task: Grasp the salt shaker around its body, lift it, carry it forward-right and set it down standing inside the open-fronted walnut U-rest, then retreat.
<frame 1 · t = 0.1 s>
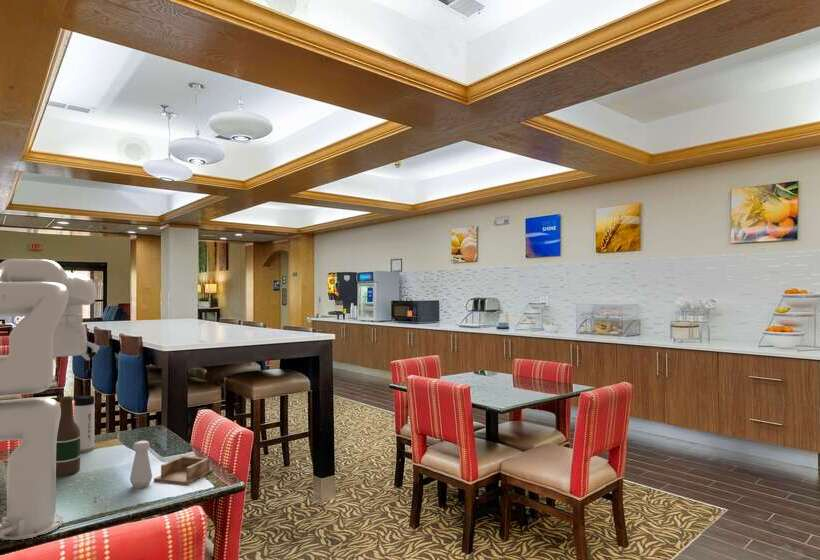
hand: (68, 373, 166), 31 cm above the table, tool pointing down, fingers open, 9 cm apart
beer bottle: (65, 473, 164), on the table
travel mug: (83, 450, 187), on the table
salt shaker: (141, 486, 152), on the table
walnut U-rest: (184, 476, 160), on the table
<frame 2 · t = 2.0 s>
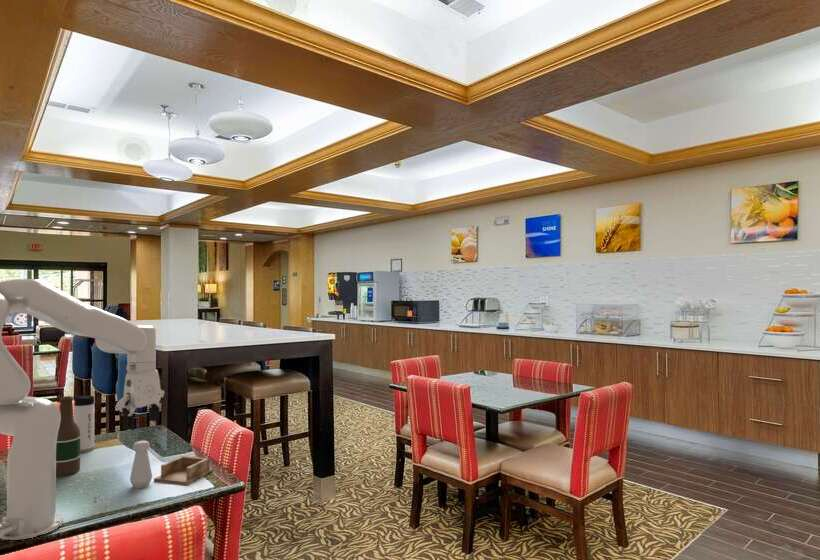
hand: (141, 424, 153), 18 cm above the table, tool pointing down, fingers open, 9 cm apart
nothing on the table moved.
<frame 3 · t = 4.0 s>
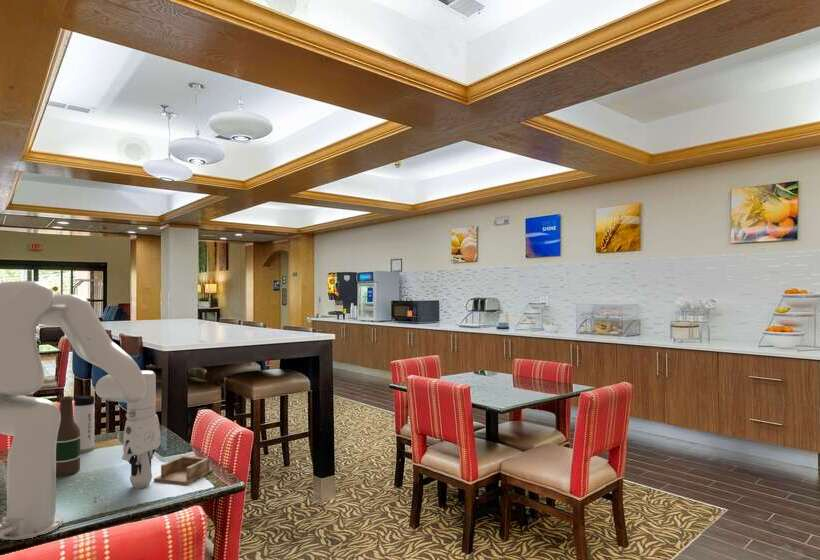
hand: (141, 474, 152), 3 cm above the table, tool pointing down, fingers closed on salt shaker, 3 cm apart
salt shaker: (141, 486, 152), on the table, touching gripper
everything else where it was.
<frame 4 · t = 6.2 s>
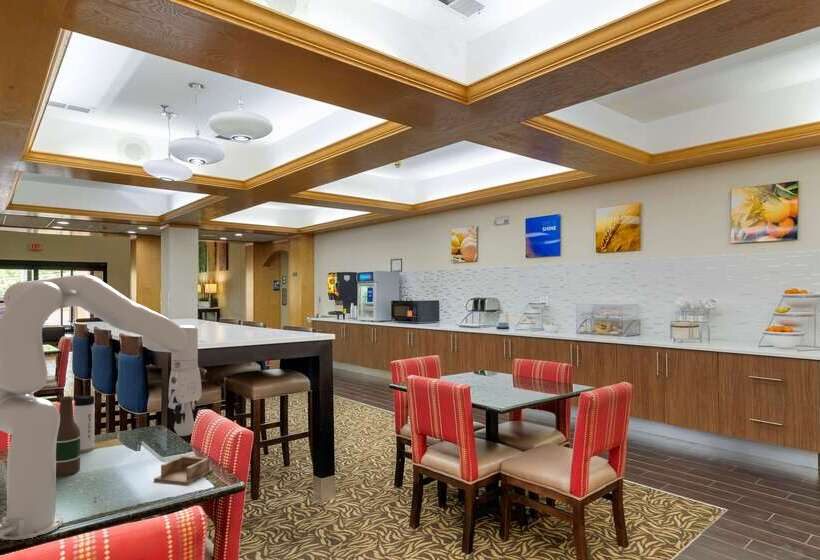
hand: (184, 423, 160), 16 cm above the table, tool pointing down, fingers closed on salt shaker, 3 cm apart
salt shaker: (184, 434, 160), point 13 cm above the table, touching gripper
everything else where it was.
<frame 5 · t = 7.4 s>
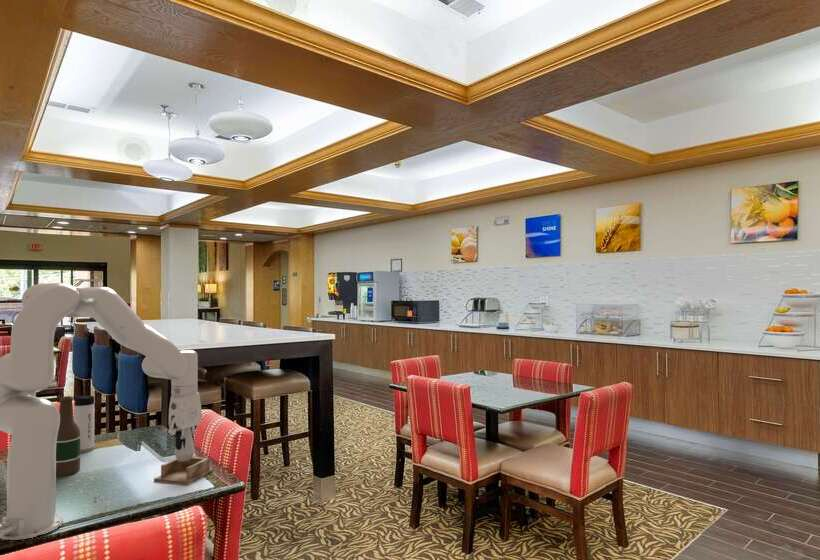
hand: (184, 448, 160), 8 cm above the table, tool pointing down, fingers closed on salt shaker, 3 cm apart
salt shaker: (184, 460, 160), point 5 cm above the table, touching gripper
everything else where it was.
when the fingers open (5 cm above the table, at t = 8.3 s): salt shaker drops 1 cm, resting on walnut U-rest.
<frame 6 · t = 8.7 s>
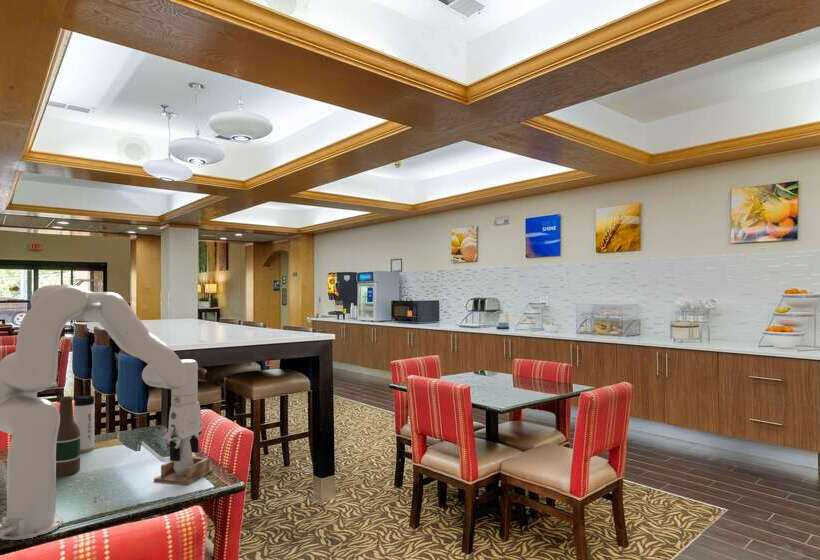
hand: (184, 456, 160), 6 cm above the table, tool pointing down, fingers open, 7 cm apart
salt shaker: (183, 474, 160), point 1 cm above the table, touching walnut U-rest
everything else where it was.
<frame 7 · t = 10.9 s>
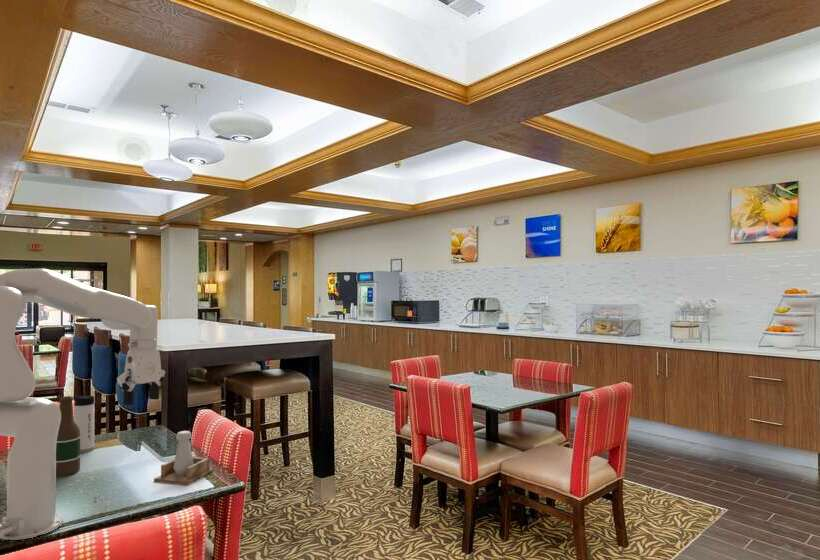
hand: (141, 401, 156), 24 cm above the table, tool pointing down, fingers open, 9 cm apart
nothing on the table moved.
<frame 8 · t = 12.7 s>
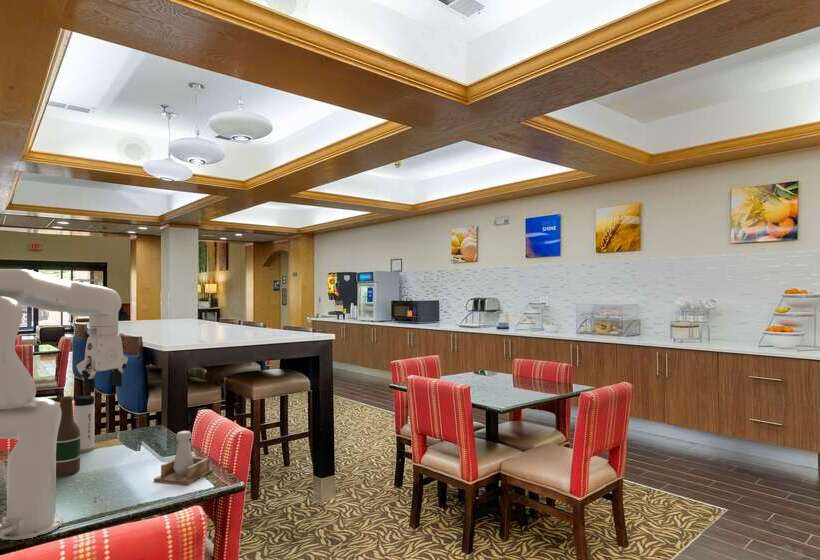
hand: (103, 389, 154), 28 cm above the table, tool pointing down, fingers open, 9 cm apart
nothing on the table moved.
at the end: salt shaker inside the target area on the walnut U-rest (0.3 cm from its centre), point 0.6 cm above the walnut U-rest's base; salt shaker tilted 0°; the gripper is holding nothing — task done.
